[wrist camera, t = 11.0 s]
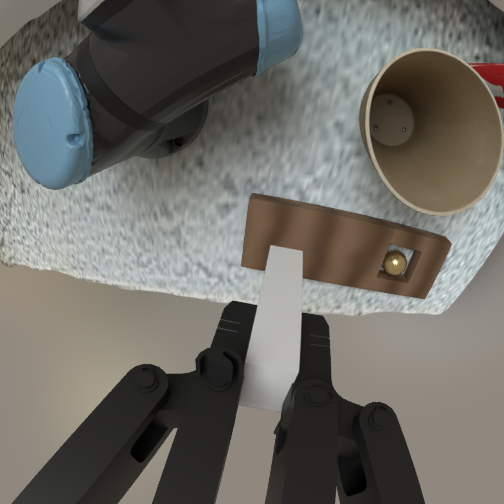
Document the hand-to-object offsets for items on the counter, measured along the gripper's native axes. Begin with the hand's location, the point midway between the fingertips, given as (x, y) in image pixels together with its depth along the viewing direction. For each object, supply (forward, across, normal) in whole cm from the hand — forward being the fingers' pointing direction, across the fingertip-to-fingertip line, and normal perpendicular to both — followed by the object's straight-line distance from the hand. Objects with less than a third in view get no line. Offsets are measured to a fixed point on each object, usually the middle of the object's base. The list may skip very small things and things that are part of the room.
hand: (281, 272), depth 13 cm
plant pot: (+27, +12, +9) cm, 30 cm away
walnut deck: (+26, +11, -11) cm, 31 cm away
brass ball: (+24, +18, -11) cm, 32 cm away
